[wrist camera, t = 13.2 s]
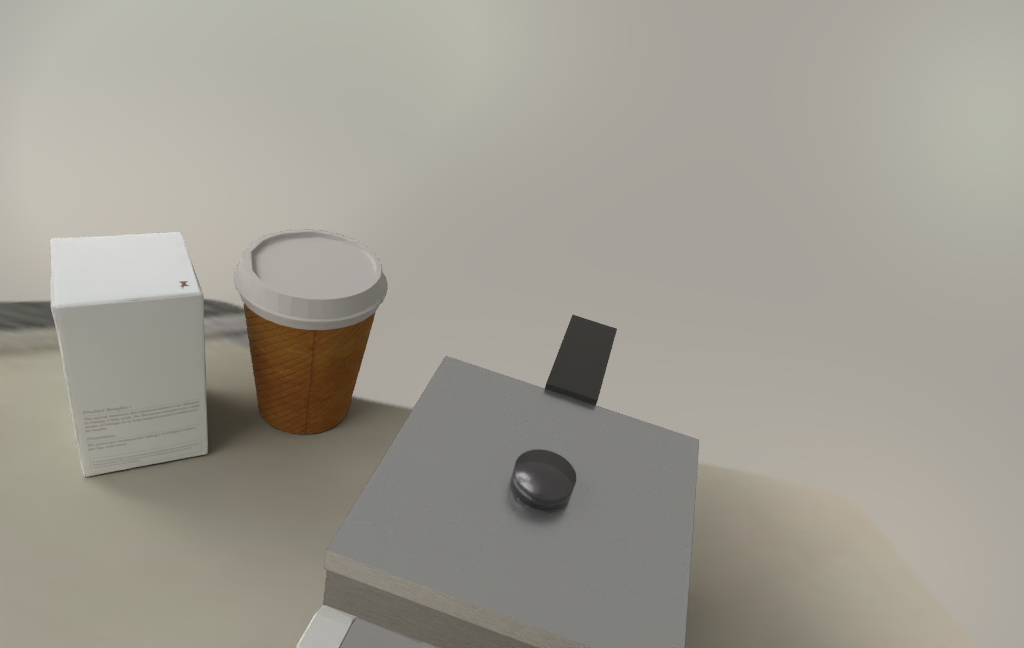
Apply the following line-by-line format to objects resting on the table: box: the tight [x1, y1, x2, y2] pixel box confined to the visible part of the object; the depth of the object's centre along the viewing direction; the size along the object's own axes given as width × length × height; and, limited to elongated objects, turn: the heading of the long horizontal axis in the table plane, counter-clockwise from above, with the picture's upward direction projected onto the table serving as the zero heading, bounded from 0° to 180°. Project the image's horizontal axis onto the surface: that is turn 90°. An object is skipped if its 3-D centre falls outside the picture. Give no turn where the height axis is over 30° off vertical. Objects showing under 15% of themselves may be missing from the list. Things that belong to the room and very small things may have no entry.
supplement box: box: [50, 232, 208, 477], centre depth 46 cm, size 7×7×13 cm
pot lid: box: [324, 315, 699, 648], centre depth 40 cm, size 15×23×2 cm, turn 165°
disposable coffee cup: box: [234, 229, 387, 434], centre depth 51 cm, size 10×10×12 cm
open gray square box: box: [323, 570, 538, 648], centre depth 40 cm, size 15×15×10 cm
